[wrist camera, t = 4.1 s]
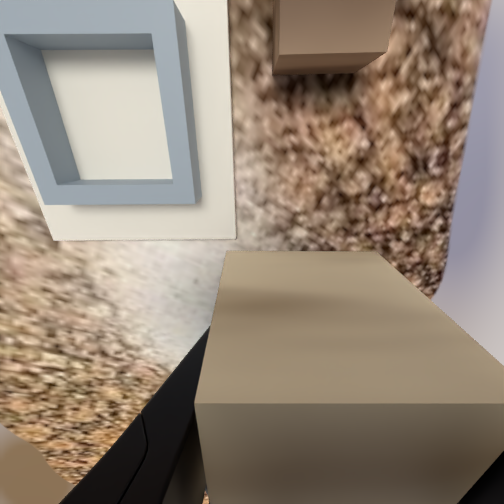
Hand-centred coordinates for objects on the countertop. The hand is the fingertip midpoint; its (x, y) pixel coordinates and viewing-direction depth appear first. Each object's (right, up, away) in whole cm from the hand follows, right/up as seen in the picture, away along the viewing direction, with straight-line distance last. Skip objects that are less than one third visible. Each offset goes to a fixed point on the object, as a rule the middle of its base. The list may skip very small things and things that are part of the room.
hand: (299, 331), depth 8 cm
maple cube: (0, 0, +1) cm, 1 cm away
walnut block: (+2, +16, +5) cm, 17 cm away
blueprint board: (-10, +11, +7) cm, 17 cm away
